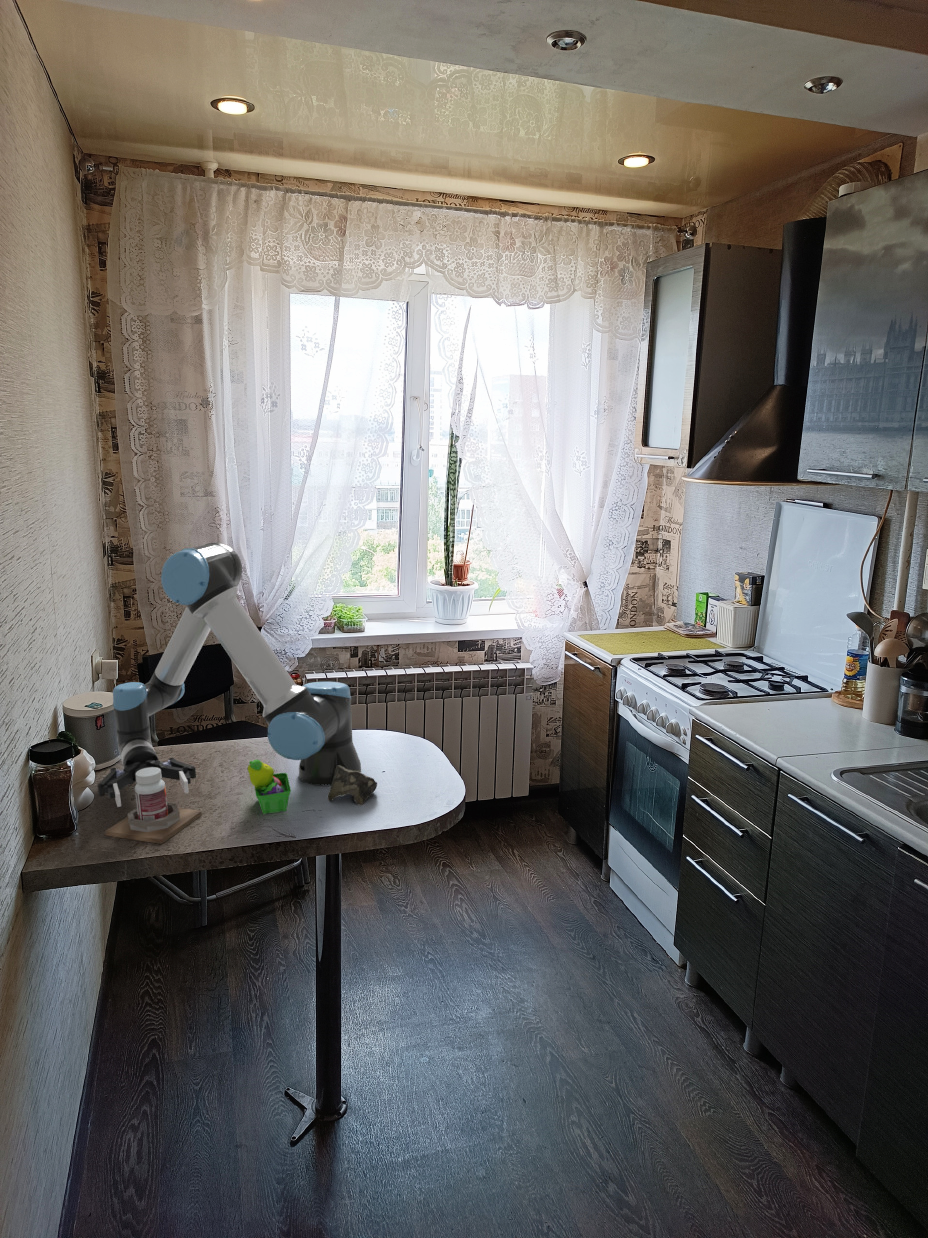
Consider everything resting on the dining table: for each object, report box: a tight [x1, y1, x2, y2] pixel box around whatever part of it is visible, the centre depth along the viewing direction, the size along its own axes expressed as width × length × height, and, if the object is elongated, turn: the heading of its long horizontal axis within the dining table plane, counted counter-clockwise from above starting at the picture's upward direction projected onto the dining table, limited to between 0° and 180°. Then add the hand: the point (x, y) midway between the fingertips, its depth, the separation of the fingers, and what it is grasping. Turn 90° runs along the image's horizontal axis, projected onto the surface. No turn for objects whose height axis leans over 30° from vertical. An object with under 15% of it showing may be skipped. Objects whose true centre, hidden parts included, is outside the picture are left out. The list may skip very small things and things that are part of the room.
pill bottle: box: [134, 767, 168, 821], centre depth 183 cm, size 6×6×11 cm
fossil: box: [327, 765, 378, 806], centre depth 196 cm, size 11×9×10 cm
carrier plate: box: [104, 802, 203, 845], centre depth 185 cm, size 14×14×3 cm
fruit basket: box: [247, 759, 292, 815], centre depth 193 cm, size 11×9×11 cm
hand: (153, 793), depth 180 cm, fingers open, 13 cm apart
